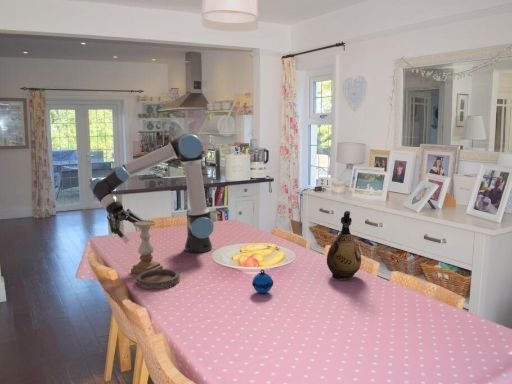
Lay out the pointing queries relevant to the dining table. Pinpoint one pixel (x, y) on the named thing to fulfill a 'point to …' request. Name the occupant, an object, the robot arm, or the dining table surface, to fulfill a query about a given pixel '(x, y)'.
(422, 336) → the dining table surface
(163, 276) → the tray
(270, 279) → the ornament
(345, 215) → the ceramic jug
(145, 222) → the candle holder
